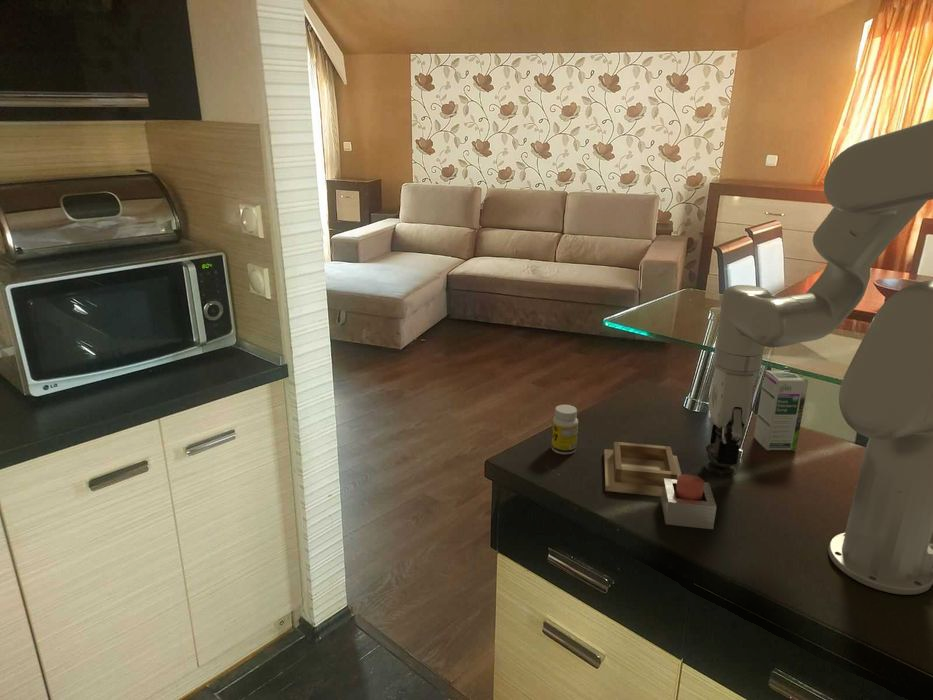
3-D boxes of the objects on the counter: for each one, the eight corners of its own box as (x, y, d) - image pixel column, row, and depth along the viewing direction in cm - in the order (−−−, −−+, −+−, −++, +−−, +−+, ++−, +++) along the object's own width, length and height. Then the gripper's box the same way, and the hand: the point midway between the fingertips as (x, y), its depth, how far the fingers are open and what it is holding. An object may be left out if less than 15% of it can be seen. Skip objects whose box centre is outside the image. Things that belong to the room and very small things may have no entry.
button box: (705, 504, 105) (708, 482, 104) (713, 529, 99) (716, 506, 97) (661, 499, 106) (663, 478, 105) (665, 524, 100) (668, 501, 99)
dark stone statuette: (700, 472, 115) (709, 410, 111) (705, 457, 120) (714, 398, 116) (736, 480, 112) (746, 417, 108) (739, 465, 117) (750, 404, 113)
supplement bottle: (549, 443, 125) (551, 403, 122) (573, 443, 125) (576, 403, 122) (553, 455, 120) (555, 414, 117) (578, 455, 120) (581, 414, 118)
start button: (699, 492, 103) (702, 475, 102) (703, 506, 99) (706, 489, 98) (673, 489, 104) (675, 473, 103) (676, 503, 100) (679, 486, 99)
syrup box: (766, 451, 122) (779, 380, 117) (752, 436, 128) (764, 368, 123) (796, 451, 122) (810, 380, 118) (781, 436, 128) (794, 368, 123)
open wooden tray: (676, 460, 119) (678, 443, 117) (685, 498, 107) (688, 480, 105) (604, 453, 121) (605, 437, 120) (605, 490, 109) (607, 472, 108)
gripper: (705, 341, 118) (693, 430, 124) (724, 376, 102) (708, 476, 108) (749, 344, 116) (734, 434, 122) (774, 379, 100) (756, 481, 106)
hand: (722, 453), depth 115 cm, fingers closed on dark stone statuette, 5 cm apart
